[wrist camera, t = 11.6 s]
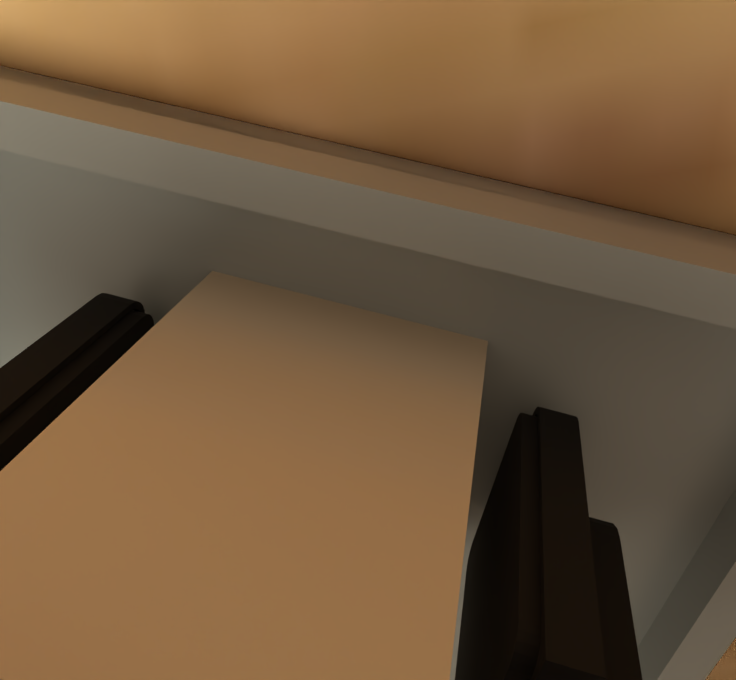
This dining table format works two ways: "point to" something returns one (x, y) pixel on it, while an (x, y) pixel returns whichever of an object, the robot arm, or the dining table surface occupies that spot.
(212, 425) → the tan block
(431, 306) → the slate tray
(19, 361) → the robot arm
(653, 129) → the dining table surface
